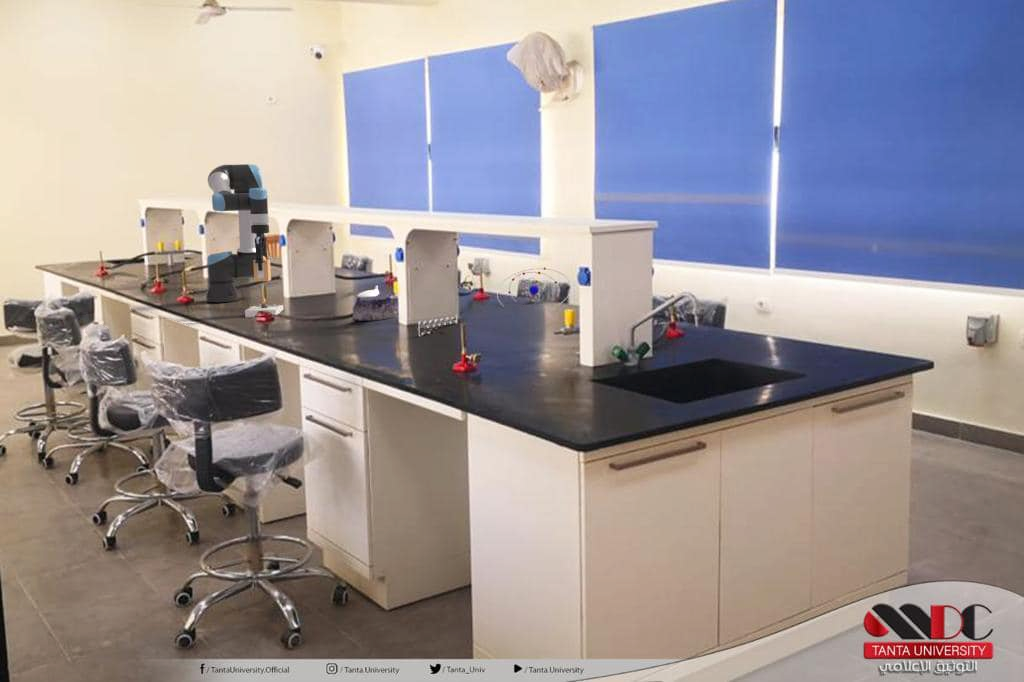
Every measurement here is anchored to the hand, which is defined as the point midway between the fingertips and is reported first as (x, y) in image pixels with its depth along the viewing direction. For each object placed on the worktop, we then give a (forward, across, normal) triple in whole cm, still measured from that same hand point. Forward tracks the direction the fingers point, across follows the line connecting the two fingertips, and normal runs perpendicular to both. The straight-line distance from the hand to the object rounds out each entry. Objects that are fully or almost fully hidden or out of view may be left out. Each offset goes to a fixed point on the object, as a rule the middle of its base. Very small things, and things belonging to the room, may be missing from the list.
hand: (262, 277), depth 433 cm
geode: (+17, +29, +51) cm, 61 cm away
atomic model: (+16, +5, +105) cm, 106 cm away
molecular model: (+19, +61, +79) cm, 102 cm away
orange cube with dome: (+1, 0, 0) cm, 1 cm away
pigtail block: (+16, 0, 0) cm, 16 cm away
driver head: (+14, -46, +46) cm, 66 cm away
